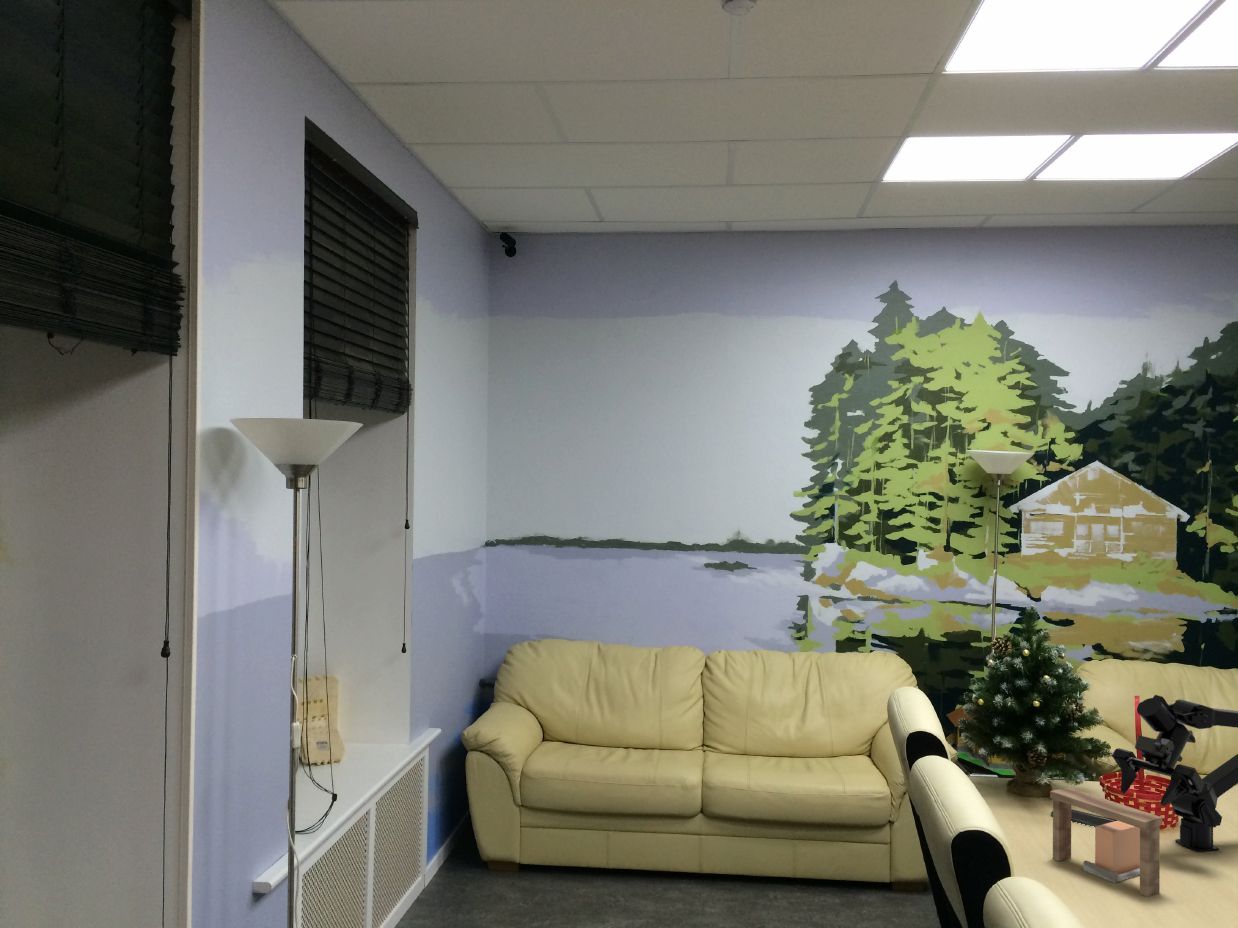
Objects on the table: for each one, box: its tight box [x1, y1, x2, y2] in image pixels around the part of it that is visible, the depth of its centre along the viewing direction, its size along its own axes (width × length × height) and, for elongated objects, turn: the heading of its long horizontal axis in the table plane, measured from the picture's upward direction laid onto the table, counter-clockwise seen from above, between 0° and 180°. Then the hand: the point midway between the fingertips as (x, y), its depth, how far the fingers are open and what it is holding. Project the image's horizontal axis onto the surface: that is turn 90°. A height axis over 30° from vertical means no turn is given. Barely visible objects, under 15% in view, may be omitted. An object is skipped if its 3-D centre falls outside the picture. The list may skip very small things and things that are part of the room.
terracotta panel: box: [1094, 821, 1140, 875], centre depth 198 cm, size 12×4×10 cm, turn 119°
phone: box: [1050, 808, 1114, 828], centre depth 229 cm, size 8×1×15 cm
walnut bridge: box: [1049, 786, 1163, 898], centre depth 197 cm, size 14×22×16 cm, turn 29°
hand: (1141, 798), depth 205 cm, fingers open, 9 cm apart
